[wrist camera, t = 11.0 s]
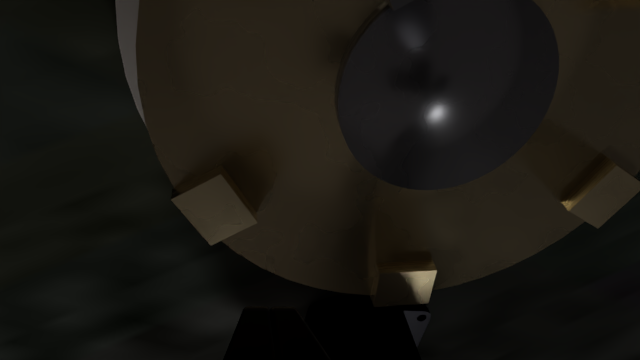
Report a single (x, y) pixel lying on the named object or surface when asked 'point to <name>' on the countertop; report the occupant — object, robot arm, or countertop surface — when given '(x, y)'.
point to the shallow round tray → (392, 131)
